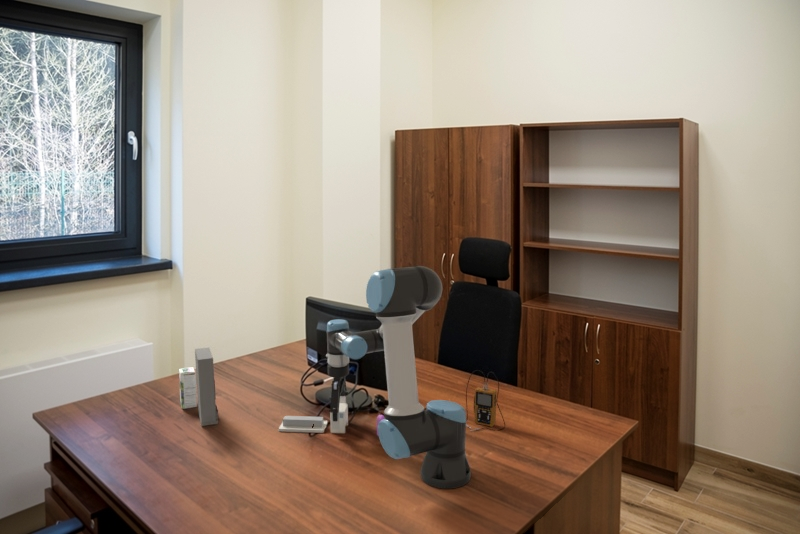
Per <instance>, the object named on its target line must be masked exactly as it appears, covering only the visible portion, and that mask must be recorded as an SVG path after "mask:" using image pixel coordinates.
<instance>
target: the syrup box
mask: <svg viewBox="0 0 800 534" xmlns="http://www.w3.org/2000/svg"><path fill="white" fill-rule="evenodd" d="M178 375H179V377H178V378H179V401H180V407H181V410H183V409H184V410H186V409H192V408H197V407H198V394H197V377H196V368H195V367H183V368H179V369H178Z"/></svg>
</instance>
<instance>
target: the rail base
mask: <svg viewBox="0 0 800 534" xmlns="http://www.w3.org/2000/svg"><path fill="white" fill-rule="evenodd" d="M313 424H314V427H313V428H312V426H313ZM327 426H328V420H324V416H311V415H310V416H309V415H308V416H305V415H304V416H303V415H302V416H301V415H285V416H284V417H283V418H282V422H281V424H280V425H279V427H278V430H277V431H278V432H283V433H284V432H286V433H289V432H290V433H292V432H293V433H315V434H316V433H318V434H319V433H320V434H324V432H325V431H326V428H327Z"/></svg>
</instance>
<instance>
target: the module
mask: <svg viewBox="0 0 800 534" xmlns="http://www.w3.org/2000/svg"><path fill="white" fill-rule="evenodd" d="M333 409H335V408H333ZM339 411H340V429H339V430H338V429H332V417H331V412H329V415H330V419H329V421H330V434H345V433H346V427H347V426H349V405H348V403H347V402H346V403H340V404H339Z"/></svg>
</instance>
